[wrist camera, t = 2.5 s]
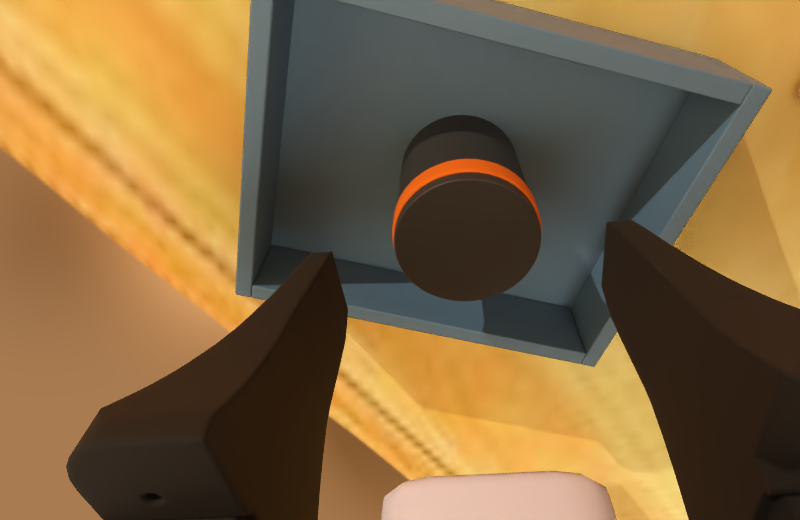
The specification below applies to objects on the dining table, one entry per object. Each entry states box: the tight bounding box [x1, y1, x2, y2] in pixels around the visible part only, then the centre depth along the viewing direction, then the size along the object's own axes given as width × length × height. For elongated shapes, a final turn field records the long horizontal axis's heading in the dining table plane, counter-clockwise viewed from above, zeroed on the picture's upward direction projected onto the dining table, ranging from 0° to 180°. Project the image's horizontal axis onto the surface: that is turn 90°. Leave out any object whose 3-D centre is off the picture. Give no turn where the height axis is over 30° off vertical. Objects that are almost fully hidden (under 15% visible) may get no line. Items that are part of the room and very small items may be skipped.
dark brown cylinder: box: [392, 115, 542, 301], centre depth 17 cm, size 4×4×5 cm
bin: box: [236, 0, 772, 367], centre depth 18 cm, size 14×11×3 cm
